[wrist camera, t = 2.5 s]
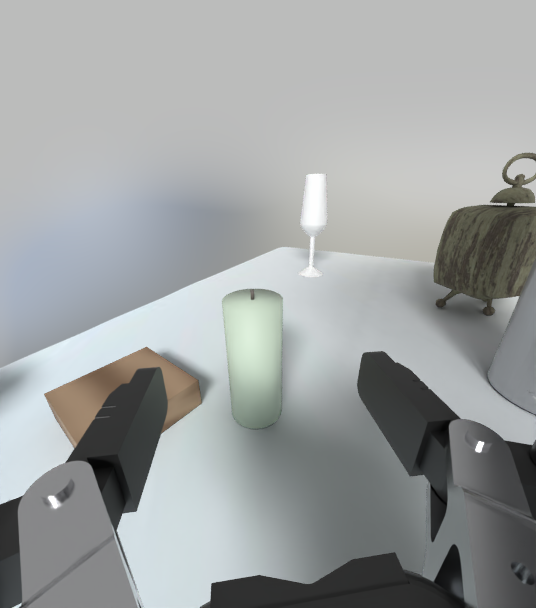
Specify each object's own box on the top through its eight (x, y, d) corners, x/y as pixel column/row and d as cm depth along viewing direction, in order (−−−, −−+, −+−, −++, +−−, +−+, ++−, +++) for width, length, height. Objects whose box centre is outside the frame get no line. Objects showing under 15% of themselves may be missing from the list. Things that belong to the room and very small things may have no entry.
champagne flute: (294, 275, 68) (298, 174, 58) (302, 269, 73) (306, 175, 64) (319, 278, 65) (327, 173, 55) (325, 271, 70) (333, 174, 61)
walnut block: (151, 366, 32) (146, 346, 31) (201, 403, 26) (198, 380, 25) (55, 417, 25) (43, 394, 24) (95, 482, 19) (83, 455, 18)
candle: (254, 384, 29) (249, 277, 24) (290, 404, 26) (294, 287, 21) (221, 411, 25) (208, 292, 20) (260, 438, 23) (255, 307, 17)
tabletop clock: (483, 297, 52) (533, 157, 42) (535, 316, 44) (612, 148, 34) (423, 304, 49) (461, 156, 39) (466, 326, 41) (528, 145, 31)
